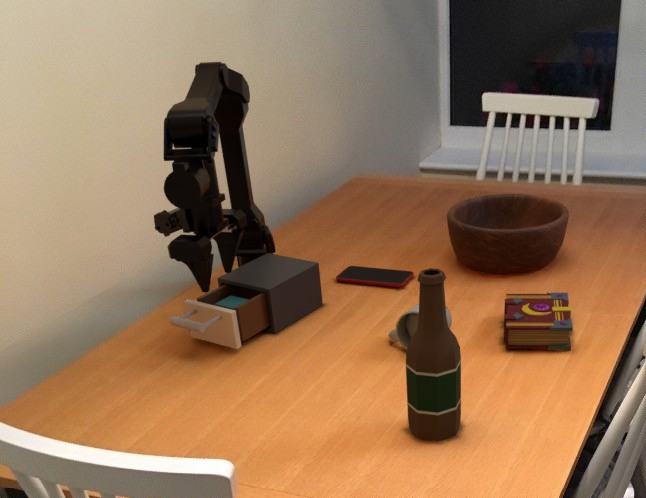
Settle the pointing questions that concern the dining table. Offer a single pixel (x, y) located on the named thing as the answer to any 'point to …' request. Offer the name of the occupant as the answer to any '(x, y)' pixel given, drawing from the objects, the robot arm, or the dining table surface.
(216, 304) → the block
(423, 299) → the beer bottle
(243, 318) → the drawer
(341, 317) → the dining table surface
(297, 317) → the cabinet
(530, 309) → the decorative book
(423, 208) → the dining table surface
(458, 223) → the wooden bowl
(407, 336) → the ceramic mug
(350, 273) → the smartphone
